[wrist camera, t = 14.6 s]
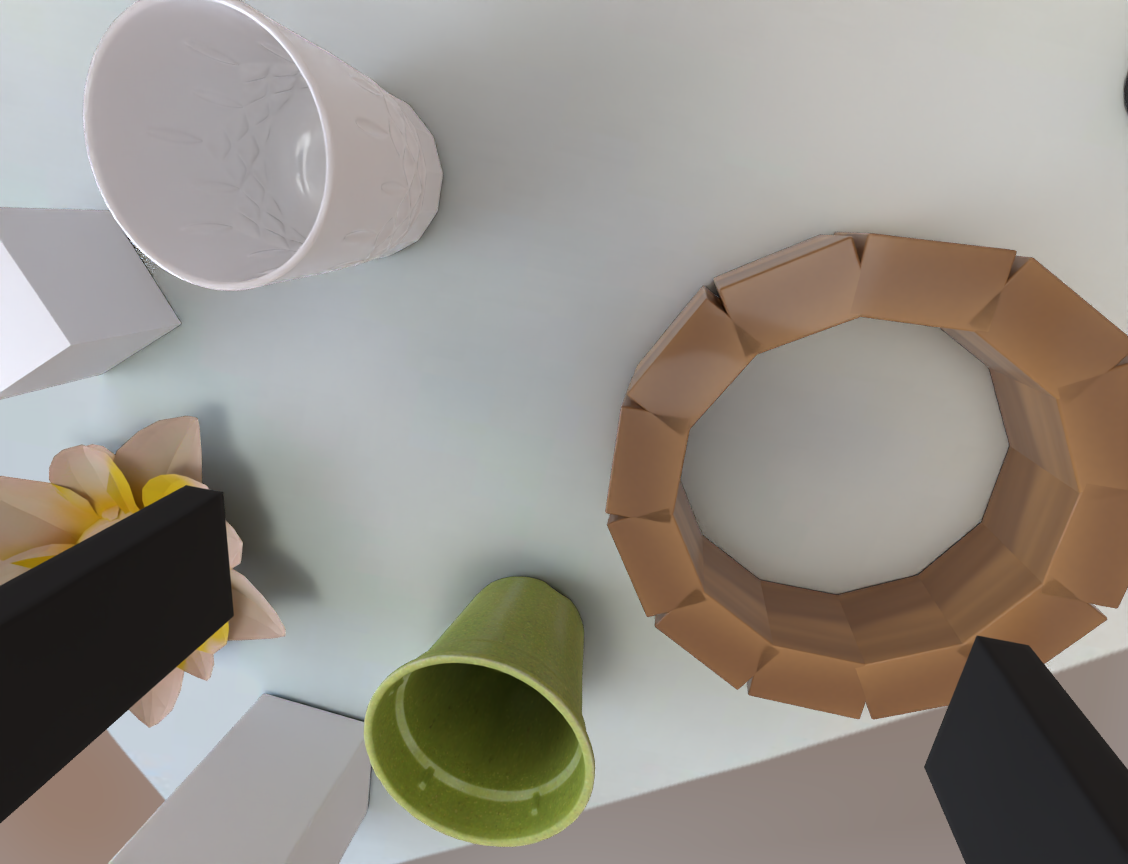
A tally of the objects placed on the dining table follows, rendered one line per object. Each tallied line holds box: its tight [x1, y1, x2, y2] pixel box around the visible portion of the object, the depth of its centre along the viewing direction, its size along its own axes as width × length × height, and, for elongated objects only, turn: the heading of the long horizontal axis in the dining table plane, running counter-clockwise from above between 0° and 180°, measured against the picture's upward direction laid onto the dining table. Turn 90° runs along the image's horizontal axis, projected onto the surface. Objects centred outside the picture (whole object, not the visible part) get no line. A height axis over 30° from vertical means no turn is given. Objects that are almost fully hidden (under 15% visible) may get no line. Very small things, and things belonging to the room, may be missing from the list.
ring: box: [605, 232, 1128, 719], centre depth 25 cm, size 18×18×5 cm
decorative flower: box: [0, 416, 286, 728], centre depth 31 cm, size 15×11×10 cm
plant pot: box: [364, 577, 595, 847], centre depth 29 cm, size 9×9×9 cm
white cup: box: [83, 0, 443, 291], centre depth 23 cm, size 8×8×10 cm
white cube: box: [0, 207, 181, 400], centre depth 29 cm, size 6×6×6 cm
